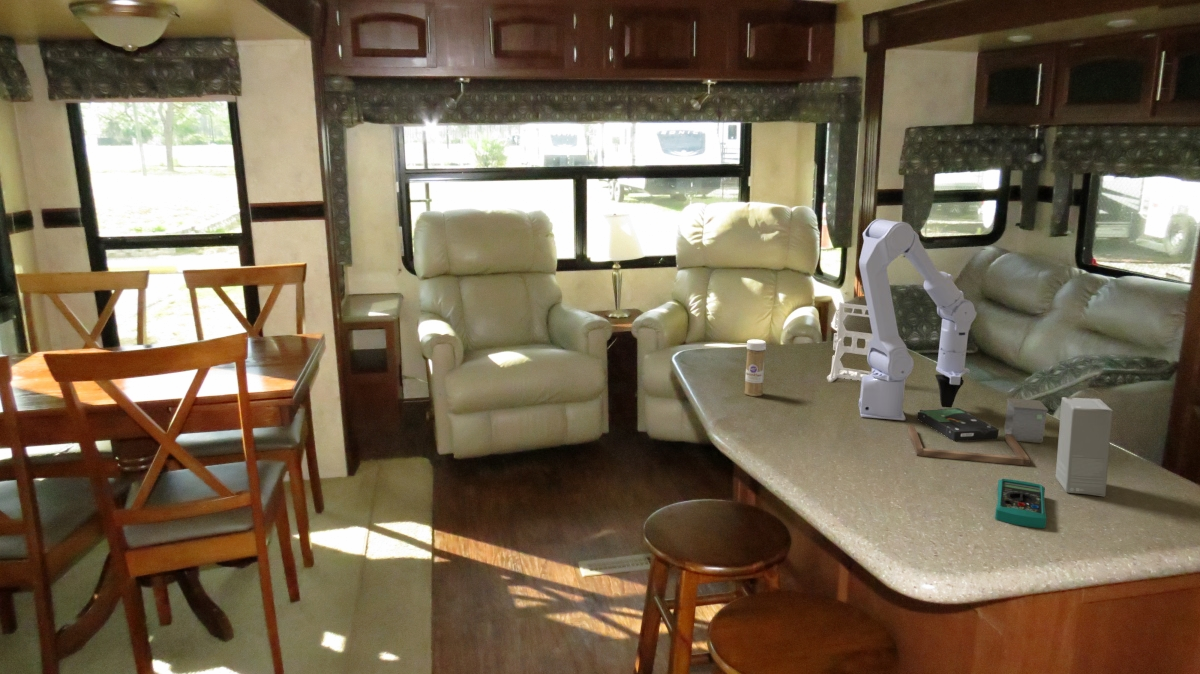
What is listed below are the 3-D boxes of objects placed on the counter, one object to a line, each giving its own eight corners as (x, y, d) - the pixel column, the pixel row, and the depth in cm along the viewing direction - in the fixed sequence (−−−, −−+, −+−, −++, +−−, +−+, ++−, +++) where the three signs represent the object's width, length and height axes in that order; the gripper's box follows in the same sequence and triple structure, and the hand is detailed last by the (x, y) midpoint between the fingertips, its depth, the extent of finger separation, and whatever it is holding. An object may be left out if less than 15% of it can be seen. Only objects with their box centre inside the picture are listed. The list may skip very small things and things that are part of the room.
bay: (916, 455, 162) (917, 449, 162) (907, 430, 176) (908, 425, 176) (1029, 465, 157) (1030, 460, 157) (1011, 439, 171) (1011, 434, 171)
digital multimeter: (994, 523, 134) (996, 506, 133) (997, 490, 147) (999, 475, 146) (1044, 533, 131) (1047, 516, 130) (1043, 499, 143) (1045, 483, 143)
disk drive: (998, 442, 172) (957, 418, 186) (1000, 429, 171) (959, 406, 185) (953, 444, 170) (915, 420, 184) (955, 431, 170) (916, 408, 184)
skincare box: (1105, 498, 143) (1119, 411, 139) (1060, 493, 145) (1072, 407, 141) (1092, 480, 151) (1105, 397, 147) (1049, 475, 153) (1061, 393, 149)
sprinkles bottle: (744, 396, 200) (747, 342, 197) (744, 391, 204) (746, 338, 201) (763, 397, 199) (766, 343, 196) (762, 391, 203) (765, 339, 200)
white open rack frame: (893, 377, 217) (900, 303, 213) (880, 390, 206) (887, 312, 201) (839, 369, 225) (845, 297, 220) (823, 381, 213) (829, 305, 209)
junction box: (1009, 440, 171) (1014, 407, 169) (1002, 430, 177) (1006, 398, 175) (1043, 443, 169) (1048, 409, 168) (1035, 433, 176) (1039, 400, 174)
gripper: (977, 358, 179) (970, 417, 182) (965, 343, 193) (959, 398, 196) (943, 356, 181) (936, 414, 184) (933, 341, 194) (927, 396, 197)
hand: (946, 406), depth 190 cm, fingers closed
